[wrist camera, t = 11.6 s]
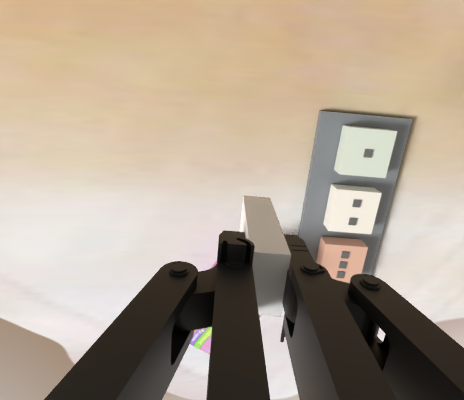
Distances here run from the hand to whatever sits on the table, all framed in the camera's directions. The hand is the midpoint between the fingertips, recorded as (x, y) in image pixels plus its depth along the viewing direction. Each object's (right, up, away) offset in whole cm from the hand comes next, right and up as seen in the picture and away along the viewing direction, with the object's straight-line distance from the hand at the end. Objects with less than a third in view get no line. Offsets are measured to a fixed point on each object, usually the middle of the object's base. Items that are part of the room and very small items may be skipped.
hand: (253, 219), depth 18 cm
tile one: (+16, +8, +24) cm, 30 cm away
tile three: (+15, -7, +29) cm, 33 cm away
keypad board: (+15, +1, +28) cm, 32 cm away
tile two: (+15, 0, +27) cm, 31 cm away
